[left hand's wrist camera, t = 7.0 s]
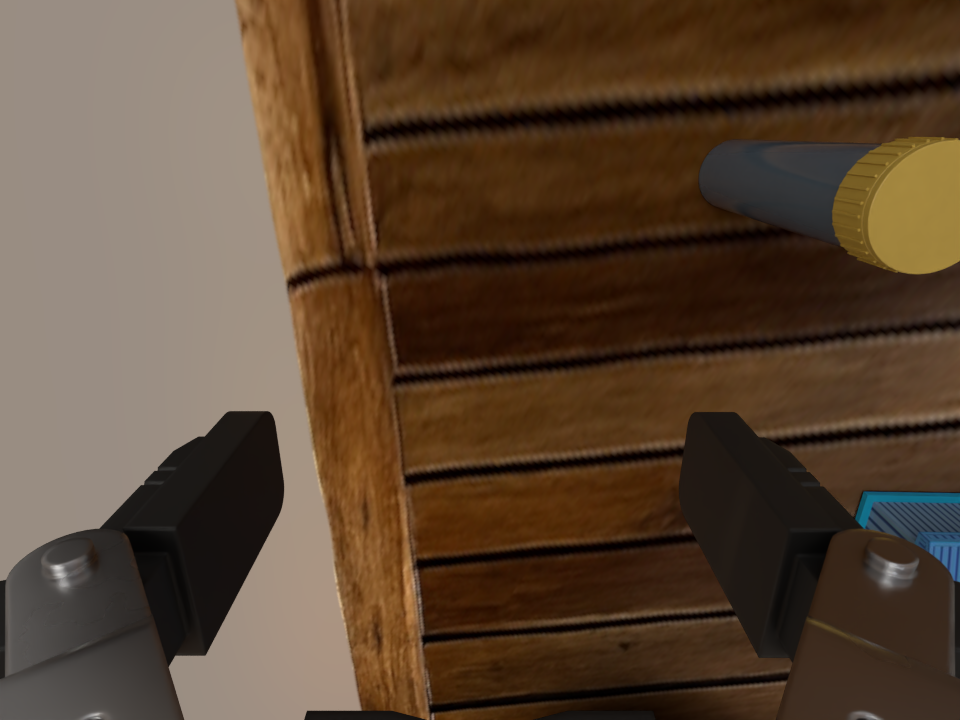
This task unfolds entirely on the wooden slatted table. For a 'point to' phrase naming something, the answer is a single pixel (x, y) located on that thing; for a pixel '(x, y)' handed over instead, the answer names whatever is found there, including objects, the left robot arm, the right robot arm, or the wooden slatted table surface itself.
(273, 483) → the left robot arm
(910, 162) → the lid
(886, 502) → the model building
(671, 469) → the wooden slatted table surface
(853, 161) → the grey bottle
